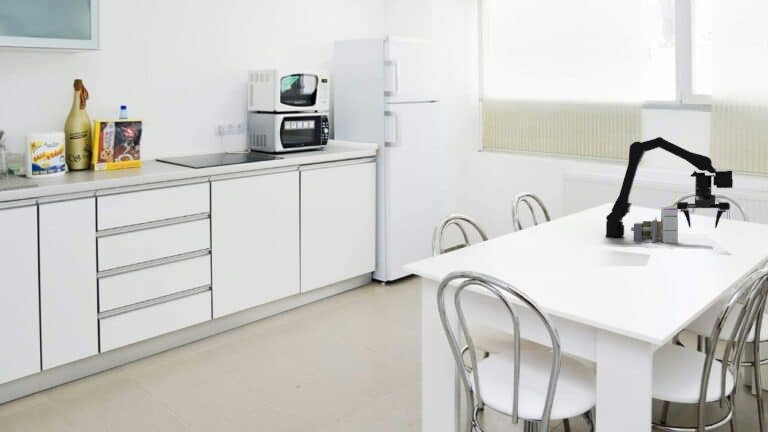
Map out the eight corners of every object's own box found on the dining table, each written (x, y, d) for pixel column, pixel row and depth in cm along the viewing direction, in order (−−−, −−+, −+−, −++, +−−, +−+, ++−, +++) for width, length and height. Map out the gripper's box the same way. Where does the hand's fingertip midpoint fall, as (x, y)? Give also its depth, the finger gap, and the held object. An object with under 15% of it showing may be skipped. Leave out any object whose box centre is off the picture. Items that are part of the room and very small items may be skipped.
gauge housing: (633, 242, 272) (633, 222, 271) (636, 239, 282) (636, 220, 281) (661, 243, 267) (661, 222, 267) (663, 240, 277) (663, 221, 277)
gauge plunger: (629, 240, 272) (630, 217, 272) (633, 238, 284) (633, 216, 283) (655, 241, 268) (655, 218, 268) (657, 239, 279) (657, 216, 279)
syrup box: (678, 243, 266) (678, 206, 266) (662, 242, 268) (662, 206, 267) (675, 241, 272) (676, 206, 271) (660, 241, 273) (660, 206, 273)
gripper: (676, 188, 260) (675, 228, 261) (730, 188, 252) (729, 229, 253) (677, 188, 270) (677, 226, 271) (729, 188, 262) (729, 227, 263)
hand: (702, 227), depth 264 cm, fingers open, 9 cm apart
